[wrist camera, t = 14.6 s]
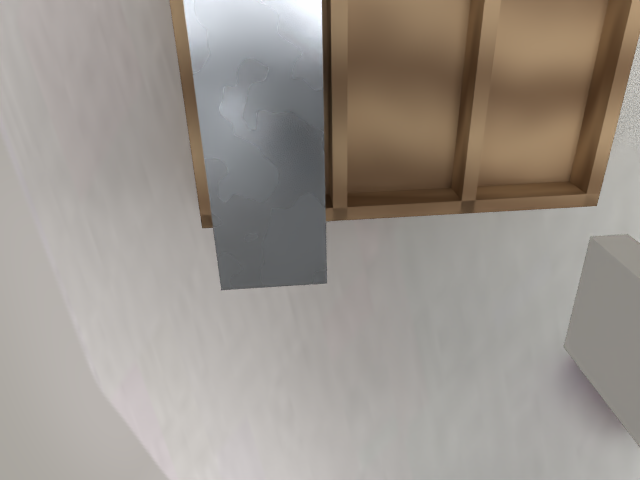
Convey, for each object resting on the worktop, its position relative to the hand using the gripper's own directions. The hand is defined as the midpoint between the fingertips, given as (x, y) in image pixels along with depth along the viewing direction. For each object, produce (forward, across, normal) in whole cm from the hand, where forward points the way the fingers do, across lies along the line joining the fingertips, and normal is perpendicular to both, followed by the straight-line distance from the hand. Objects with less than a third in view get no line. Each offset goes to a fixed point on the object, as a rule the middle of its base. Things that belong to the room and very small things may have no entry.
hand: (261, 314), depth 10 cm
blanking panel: (+20, 0, 0) cm, 20 cm away
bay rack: (+21, -7, 0) cm, 23 cm away
